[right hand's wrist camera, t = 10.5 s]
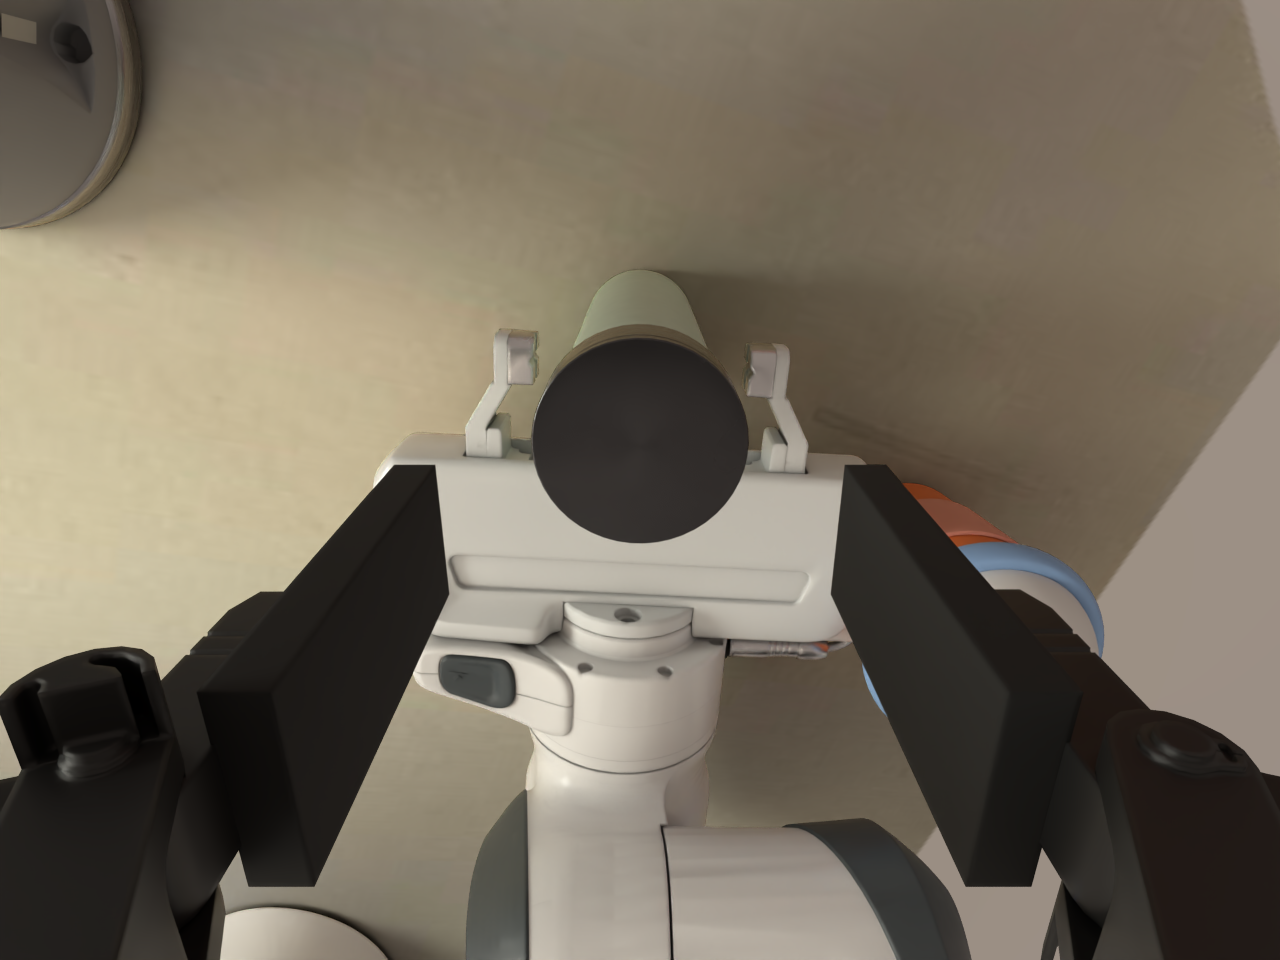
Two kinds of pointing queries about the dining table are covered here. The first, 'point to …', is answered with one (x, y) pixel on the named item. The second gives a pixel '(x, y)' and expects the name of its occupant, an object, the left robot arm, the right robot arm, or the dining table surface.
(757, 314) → the dining table surface
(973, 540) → the cup with straw
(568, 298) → the dining table surface
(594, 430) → the lid
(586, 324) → the pale green bottle
